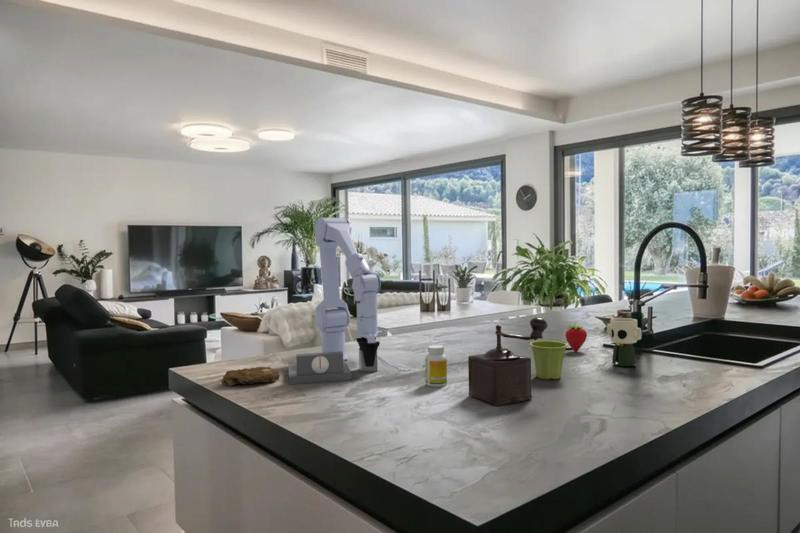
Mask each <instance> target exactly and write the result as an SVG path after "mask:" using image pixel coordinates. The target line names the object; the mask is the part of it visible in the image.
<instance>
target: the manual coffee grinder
mask: <svg viewBox="0 0 800 533" xmlns="http://www.w3.org/2000/svg"><path fill="white" fill-rule="evenodd" d="M529 326H530V328H531V333H530V334H529V336H527V335H526V336H525V335H520V334H519V335H518V334H512V333H504V332H502V326H501V325H500V324H497V325H495V334H496V347H495V348H492V349H488V351H486V352H485V353H482V354H481V353H480V354H474V355H468V359H467V360H468V396H469V397H471V398H473V399H475V400H477V401H479V402H480V401H481V402H483V403H486V404H488V405H491V406H494V407H501V406H506V405H513V404H517V403H521V402H525V401H527V400H531V399H533V396H532V359H531V358H532V357H528V356H524V355H519V354H515V353H514V352H513V351H511V350H510V349H509V348H503V347H502V337H503V338H507V339H508V338H510V339H517V340H523V341H531V340H534V341H537V340H539V339H541V340H543V339H544V337H543V333H544V332H545V331H546V329H547V328H548V322H547V321H546V320H545V319H544V318H540V317H534V318H531V319H530V321H529Z"/></svg>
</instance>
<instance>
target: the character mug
mask: <svg viewBox="0 0 800 533" xmlns="http://www.w3.org/2000/svg"><path fill="white" fill-rule="evenodd" d="M606 334H607V335H609V338H610V339H609V340H611V342H613V343H615V344H614V346H613V350H612V362H611V364H613V365H616V363H617V365H618V366H621V367H630V366H634V365H636V364H637V360H636V354H635V347H634V345H633V344H635V343H637V342H638V341H640V340H642V328H641V327H638V319H636V318H629V317H627V318H626V317H616V318H615V317H614V318H611V319H610V320H609V323H607V325H606Z"/></svg>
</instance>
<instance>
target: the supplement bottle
mask: <svg viewBox="0 0 800 533" xmlns="http://www.w3.org/2000/svg"><path fill="white" fill-rule="evenodd" d="M427 352H428V354H426V356H425V358H424V359H425V360H424V362H425V363H424V364H425V367H424V368H425V370H424V371H425V372H424V374H425V385H426V386H427V387H432V388H441V387H445V386H446V385H447V384H448V365H447V364H448V362H447V361H448V357H447V355H446V354H444V352H445V346H444V345H442V344H438V345H437V344H435V345H434V344H432V345H428V346H427Z"/></svg>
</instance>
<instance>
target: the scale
mask: <svg viewBox="0 0 800 533" xmlns="http://www.w3.org/2000/svg"><path fill="white" fill-rule="evenodd" d="M341 381H352V371H351V370H350V368H349V365H348V364H347V362H346V360H344V359H343V353H342V351H340V352H324V353H322V352H311V353H309V352H307V353H296V354H295V361H292V362H291V361H289V362H288V382H289V385H302V384H311V383H312V384H314V383H327V382H341Z"/></svg>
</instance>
